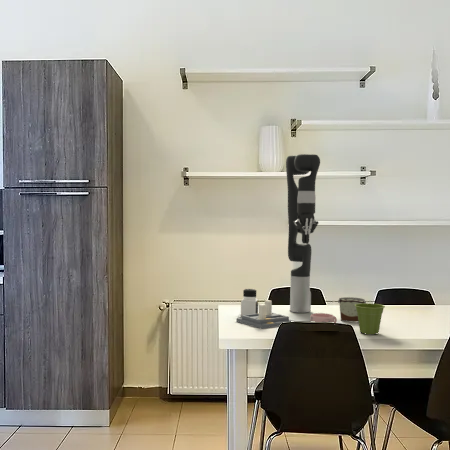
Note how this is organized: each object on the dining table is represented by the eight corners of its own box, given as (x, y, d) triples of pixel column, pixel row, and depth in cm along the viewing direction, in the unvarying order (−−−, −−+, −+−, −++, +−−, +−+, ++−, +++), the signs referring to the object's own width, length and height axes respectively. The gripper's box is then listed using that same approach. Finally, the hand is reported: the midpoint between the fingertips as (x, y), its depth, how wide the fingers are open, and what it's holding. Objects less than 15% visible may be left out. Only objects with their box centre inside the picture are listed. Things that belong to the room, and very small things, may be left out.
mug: (318, 332, 227) (318, 318, 227) (305, 327, 236) (305, 313, 236) (343, 330, 231) (343, 316, 231) (329, 326, 241) (330, 312, 240)
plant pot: (379, 330, 233) (379, 303, 233) (388, 336, 222) (389, 308, 221) (350, 330, 233) (351, 302, 233) (358, 336, 221) (359, 307, 221)
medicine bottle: (255, 316, 259) (256, 290, 258) (240, 315, 260) (241, 289, 260) (258, 313, 266) (258, 288, 265) (243, 313, 267) (243, 287, 267)
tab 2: (269, 315, 252) (269, 299, 252) (273, 316, 250) (273, 300, 250) (262, 316, 250) (262, 300, 250) (266, 317, 247) (267, 301, 247)
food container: (367, 320, 255) (367, 298, 255) (365, 322, 249) (366, 300, 249) (339, 318, 259) (339, 296, 259) (337, 320, 253) (338, 298, 253)
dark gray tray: (268, 317, 256) (268, 310, 256) (293, 324, 243) (294, 316, 243) (236, 321, 246) (236, 314, 246) (261, 328, 232) (261, 320, 232)
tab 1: (263, 320, 241) (263, 303, 241) (268, 321, 239) (268, 304, 239) (256, 321, 239) (256, 304, 239) (260, 322, 236) (261, 305, 236)
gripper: (311, 202, 244) (310, 242, 244) (288, 201, 236) (287, 243, 236) (324, 202, 237) (323, 243, 238) (300, 201, 230) (300, 244, 230)
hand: (305, 243), depth 237 cm, fingers closed
